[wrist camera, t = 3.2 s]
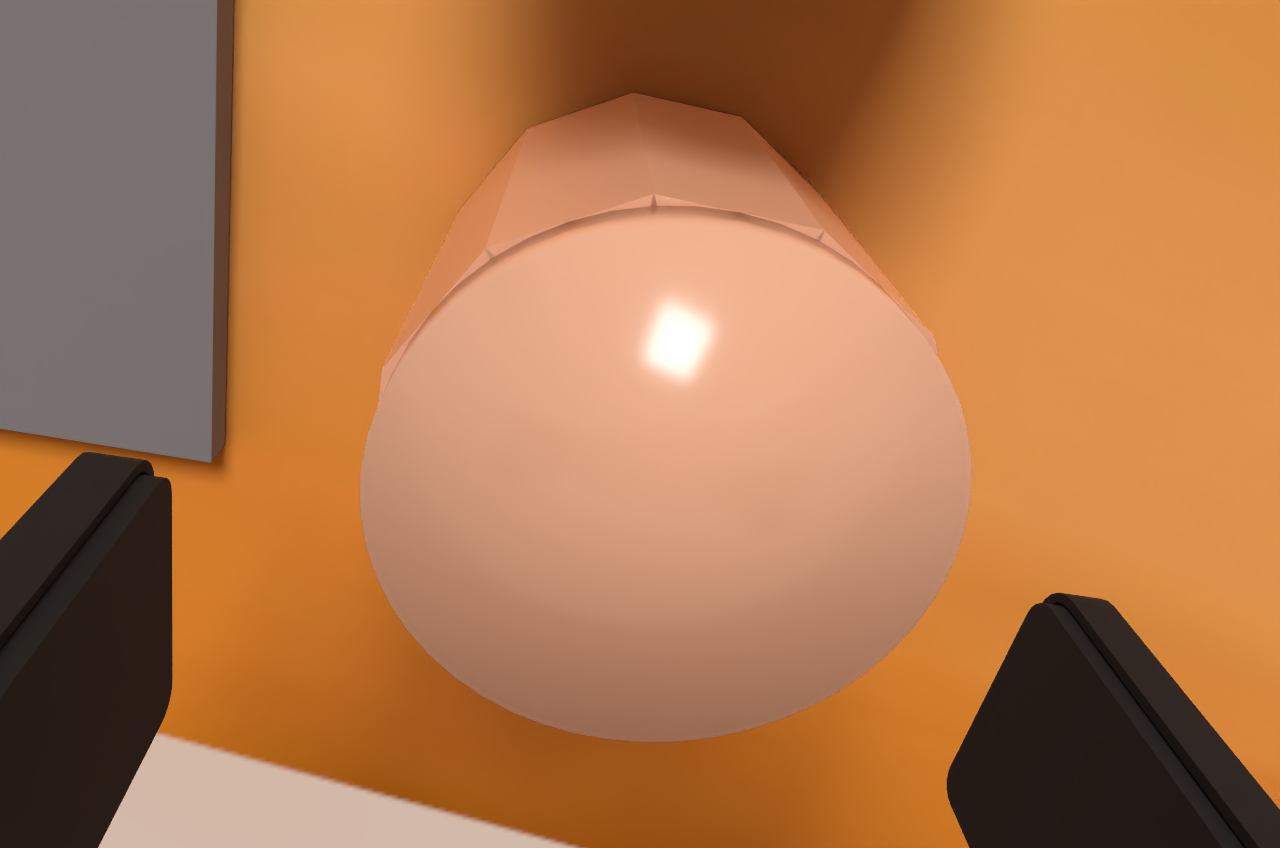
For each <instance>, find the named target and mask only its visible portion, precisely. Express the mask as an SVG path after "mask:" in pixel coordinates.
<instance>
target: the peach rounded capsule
mask: <svg viewBox="0 0 1280 848" xmlns="http://www.w3.org/2000/svg"><path fill="white" fill-rule="evenodd" d="M971 478H972V467H971V456H970V445H969V436H968V432H967V428H966V424H965V420H964V417H963V413H962V409H961V405H960V402H959V400H958V397H957V395H956V393H955V390H954V388H953V386H952V383H951V381H950V379H949V377H948V374H947V372H946V370H945V368H944V367H943V365H942V364H941V362H940V361H939V358H938V353H937V347H936V342H935V337H934V336H933V335H932V334H931V332H930V331H929V330H928V329H927V327H926V326H925V325H924V324H923V323H922V321H921V320H920V319H919V318H918V316H917V315H916V314H915V313H914V311H913V310H912V309H911V308H910V306H909V305H908V304H907V303H906V301H905V300H904V299H903V298H902V296H901V295H900V294H899V293H898V292H897V290H896V289H895V288H894V287H893V285H892V284H891V283H890V282H889V280H888V279H887V278H886V277H885V275H884V274H883V273H882V272H881V270H880V269H879V268H878V267H877V265H876V264H875V263H874V262H873V260H872V259H871V258H870V257H869V256H868V254H867V253H866V252H865V251H864V249H863V248H862V247H861V246H860V244H859V243H858V242H857V241H856V239H855V238H854V237H853V236H852V234H851V233H850V232H849V231H848V229H847V228H846V227H845V226H844V225H843V223H842V222H841V221H840V220H839V218H838V217H837V216H836V215H835V213H834V212H833V211H832V210H831V208H830V207H829V206H828V205H827V203H826V202H825V201H824V200H823V198H822V197H821V196H820V195H819V194H818V192H817V191H816V190H815V189H814V188H813V187H812V186H811V185H810V184H809V183H808V182H807V181H806V180H805V179H804V178H803V177H802V176H801V175H800V174H799V173H798V172H797V171H796V170H795V169H794V168H793V167H792V166H791V165H790V164H789V163H788V162H787V161H786V160H785V159H784V158H783V157H782V156H781V155H780V154H779V153H778V152H777V151H776V150H775V149H774V148H773V147H772V146H771V145H770V144H769V143H768V142H766V141H765V140H764V139H763V138H762V137H761V136H760V135H759V134H758V133H757V132H756V131H755V130H754V129H753V128H752V127H751V126H750V125H749V124H748V123H747V122H746V121H745V120H744V119H743V118H742V117H740V116H735V115H731V114H726V113H722V112H717V111H713V110H709V109H704V108H700V107H695V106H691V105H686V104H682V103H678V102H673V101H669V100H664V99H660V98H655V97H651V96H647V95H642V94H638V93H631V94H628V95H625V96H622V97H619V98H616V99H613V100H610V101H607V102H604V103H601V104H598V105H595V106H592V107H589V108H586V109H583V110H580V111H577V112H574V113H571V114H568V115H565V116H562V117H559V118H557V119H554V120H551V121H548V122H545V123H542V124H539V125H536V126H533V127H530V128H527V129H526V131H525V132H524V133H523V134H522V135H521V137H520V138H519V139H518V140H517V141H516V143H515V144H514V145H513V146H512V147H511V149H510V150H509V151H508V152H507V153H506V155H505V156H504V157H503V158H502V159H501V161H500V162H499V163H498V164H497V166H496V167H495V168H494V169H493V170H492V172H491V173H490V174H489V175H488V176H487V178H486V179H485V180H484V181H483V182H482V184H481V185H480V186H479V187H478V188H477V190H476V191H475V192H474V193H473V194H472V196H471V197H470V198H469V199H468V200H467V202H466V203H465V204H464V205H463V206H462V208H461V209H460V210H459V212H458V214H457V216H456V218H455V220H454V222H453V224H452V226H451V228H450V230H449V232H448V234H447V236H446V238H445V240H444V242H443V245H442V247H441V249H440V251H439V253H438V255H437V257H436V259H435V261H434V263H433V265H432V267H431V269H430V271H429V273H428V275H427V277H426V279H425V281H424V284H423V286H422V288H421V290H420V292H419V294H418V296H417V298H416V300H415V302H414V304H413V306H412V308H411V310H410V312H409V314H408V316H407V318H406V320H405V322H404V325H403V327H402V329H401V331H400V333H399V335H398V337H397V339H396V341H395V343H394V345H393V347H392V349H391V351H390V353H389V355H388V357H387V359H386V361H385V364H384V366H383V368H382V374H381V384H380V393H379V403H378V407H377V410H376V412H375V415H374V418H373V421H372V424H371V427H370V430H369V433H368V435H367V439H366V445H365V451H364V456H363V462H362V467H361V479H360V510H361V518H362V525H363V532H364V539H365V543H366V546H367V550H368V553H369V556H370V560H371V563H372V566H373V570H374V573H375V575H376V577H377V579H378V581H379V583H380V585H381V587H382V590H383V592H384V594H385V596H386V598H387V600H388V602H389V604H390V605H391V607H392V608H393V610H394V611H395V613H396V614H397V616H398V617H399V619H400V620H401V622H402V623H403V625H404V626H405V628H406V629H407V631H408V632H409V633H410V634H411V635H412V636H413V638H414V639H415V640H416V641H417V642H418V643H419V644H420V646H421V647H422V648H423V649H424V650H425V651H426V652H427V654H428V655H429V656H431V657H432V658H433V659H434V660H435V661H436V662H437V663H438V664H440V665H441V666H442V667H443V668H444V669H445V670H446V671H447V672H449V673H450V674H451V675H452V676H453V677H455V678H456V679H457V680H459V681H460V682H462V683H463V684H465V685H466V686H468V687H469V688H470V689H472V690H473V691H475V692H476V693H478V694H479V695H481V696H483V697H484V698H486V699H488V700H490V701H492V702H494V703H496V704H497V705H499V706H501V707H503V708H505V709H507V710H509V711H511V712H513V713H516V714H518V715H521V716H523V717H526V718H528V719H531V720H533V721H536V722H538V723H540V724H544V725H547V726H551V727H554V728H558V729H561V730H564V731H568V732H571V733H575V734H581V735H587V736H592V737H598V738H603V739H610V740H622V741H634V742H678V741H687V740H696V739H706V738H713V737H718V736H722V735H727V734H732V733H737V732H742V731H746V730H749V729H752V728H756V727H759V726H762V725H765V724H769V723H772V722H775V721H778V720H780V719H783V718H785V717H788V716H790V715H792V714H795V713H797V712H800V711H802V710H804V709H807V708H809V707H811V706H813V705H815V704H816V703H818V702H820V701H822V700H824V699H826V698H828V697H829V696H831V695H833V694H835V693H837V692H839V691H840V690H842V689H843V688H844V687H846V686H847V685H849V684H850V683H852V682H853V681H855V680H856V679H858V678H859V677H861V676H862V675H863V674H865V673H866V672H868V671H869V670H870V669H871V668H872V667H873V666H875V665H876V664H877V663H878V662H879V661H880V660H882V659H883V658H884V657H885V656H886V655H887V654H889V653H890V652H891V651H892V650H893V649H894V648H895V647H896V646H897V645H898V644H899V643H900V641H901V640H902V639H903V638H904V637H905V636H906V635H907V634H908V633H909V632H910V631H911V630H912V629H913V627H914V626H915V625H916V624H917V622H918V621H919V620H920V618H921V617H922V615H923V614H924V613H925V611H926V610H927V609H928V607H929V606H930V604H931V603H932V602H933V600H934V599H935V597H936V595H937V593H938V592H939V590H940V588H941V586H942V584H943V582H944V581H945V579H946V577H947V575H948V573H949V571H950V570H951V567H952V564H953V562H954V559H955V556H956V554H957V551H958V548H959V546H960V543H961V541H962V538H963V533H964V529H965V524H966V520H967V515H968V511H969V506H970V493H971Z"/></svg>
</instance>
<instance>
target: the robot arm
mask: <svg viewBox="0 0 1280 848" xmlns="http://www.w3.org/2000/svg"><path fill="white" fill-rule="evenodd" d="M171 690H172V490H171V484H170V481H169V480H168V479H167V478H163V477H156V476H154V471H153V468H152V465H151V463H150V462H148V461H147V460H141V459H134V458H127V457H120V456H113V455H106V454H100V453H93V452H84V453H82V454H81V455H80V456H78V457H77V458H76V459H75V460H74V461H73V462H72V463H71V464H70V466H69V467H68V468H67V469H66V470H65V471H64V472H63V473H62V474H61V475H60V476H59V477H58V478H57V480H56V481H55V482H54V483H53V484H52V485H51V486H50V487H49V488H48V489H47V490H46V491H45V492H44V493H43V495H42V496H41V497H40V498H39V499H38V500H37V501H36V502H35V503H34V504H33V505H32V506H31V507H30V509H29V510H28V511H27V512H26V513H25V514H24V515H23V516H22V517H21V518H20V519H19V520H18V521H17V522H16V524H15V525H14V526H13V527H12V528H11V529H10V530H9V531H8V532H7V533H6V534H5V535H4V536H3V537H2V539H1V540H0V848H98V847H99V844H100V843H101V841H102V839H103V837H104V835H105V833H106V831H107V829H108V827H109V825H110V823H111V821H112V819H113V817H114V815H115V813H116V811H117V809H118V807H119V805H120V803H121V802H122V799H123V798H124V796H125V794H126V792H127V790H128V788H129V786H130V784H131V782H132V780H133V778H134V776H135V774H136V772H137V770H138V768H139V766H140V764H141V762H142V760H143V758H144V757H145V755H146V752H147V751H148V749H149V747H150V745H151V743H152V741H153V739H154V737H155V735H156V733H157V731H158V729H159V727H160V725H161V723H162V721H163V719H164V717H165V714H166V711H167V708H168V705H169V701H170V696H171ZM947 793H948V798H949V801H950V804H951V807H952V809H953V811H954V813H955V816H956V818H957V820H958V823H959V825H960V827H961V829H962V832H963V834H964V836H965V838H966V841H967V843H968V845H969V847H970V848H1280V809H1279V808H1278V807H1277V806H1276V805H1275V803H1274V802H1273V801H1272V800H1271V798H1270V797H1269V796H1268V795H1267V794H1266V792H1265V791H1264V790H1263V789H1262V787H1261V786H1260V785H1259V784H1258V782H1257V781H1256V780H1255V779H1254V778H1253V776H1252V775H1251V774H1250V773H1249V771H1248V770H1247V769H1246V768H1245V767H1244V765H1243V764H1242V763H1241V762H1240V760H1239V759H1238V758H1237V757H1236V755H1235V754H1234V753H1233V752H1232V751H1231V749H1230V748H1229V747H1228V746H1227V744H1226V743H1225V742H1224V741H1223V739H1222V738H1221V737H1220V736H1219V735H1218V733H1217V732H1216V731H1215V730H1214V728H1213V727H1212V726H1211V725H1210V724H1209V722H1208V721H1207V720H1206V719H1205V717H1204V716H1203V715H1202V714H1201V712H1200V711H1199V710H1198V709H1197V708H1196V706H1195V705H1194V704H1193V703H1192V701H1191V700H1190V699H1189V698H1188V697H1187V695H1186V694H1185V693H1184V692H1183V690H1182V689H1181V688H1180V687H1179V685H1178V684H1177V683H1176V682H1175V681H1174V679H1173V678H1172V677H1171V676H1170V674H1169V673H1168V672H1167V671H1166V670H1165V668H1164V667H1163V666H1162V665H1161V663H1160V662H1159V661H1158V660H1157V658H1156V657H1155V656H1154V655H1153V654H1152V652H1151V651H1150V650H1149V649H1148V647H1147V646H1146V645H1145V644H1144V643H1143V641H1142V640H1141V639H1140V638H1139V636H1138V635H1137V634H1136V633H1135V631H1134V630H1133V629H1132V628H1131V627H1130V625H1129V624H1128V623H1127V622H1126V620H1125V619H1124V618H1123V617H1122V616H1121V614H1120V613H1119V612H1118V611H1117V609H1116V608H1115V607H1114V606H1113V605H1112V604H1111V603H1109V602H1108V601H1106V600H1103V599H1099V598H1092V597H1085V596H1078V595H1071V594H1064V593H1055V594H1051V595H1050V596H1049V597H1047V598H1046V599H1045V600H1044V601H1043V603H1039V604H1036V605H1034V606H1033V607H1032V608H1031V609H1030V610H1029V612H1028V613H1027V615H1026V617H1025V619H1024V621H1023V623H1022V625H1021V627H1020V629H1019V631H1018V633H1017V635H1016V637H1015V639H1014V641H1013V643H1012V645H1011V647H1010V649H1009V651H1008V653H1007V655H1006V657H1005V659H1004V661H1003V663H1002V665H1001V667H1000V669H999V671H998V673H997V675H996V677H995V679H994V681H993V683H992V685H991V687H990V689H989V691H988V693H987V695H986V697H985V699H984V701H983V703H982V705H981V707H980V709H979V711H978V713H977V715H976V717H975V719H974V721H973V723H972V725H971V727H970V729H969V731H968V733H967V735H966V737H965V739H964V741H963V743H962V745H961V747H960V749H959V751H958V753H957V755H956V757H955V759H954V760H953V762H952V764H951V766H950V769H949V772H948V777H947Z"/></svg>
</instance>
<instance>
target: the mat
mask: <svg viewBox="0 0 1280 848" xmlns="http://www.w3.org/2000/svg"><path fill="white" fill-rule="evenodd" d="M233 18H234V0H0V429H5V430H12V431H18V432H24V433H30V434H36V435H42V436H49V437H55V438H61V439H67V440H73V441H80V442H86V443H92V444H98V445H104V446H110V447H117V448H123V449H129V450H135V451H141V452H147V453H154V454H160V455H166V456H172V457H178V458H184V459H191V460H197V461H203V462H209V463H212V461H213V460H214V458H215V457H216V456H217V454H218V453H219V452H220V450H221V449H222V447H223V446H224V445H225V420H226V370H227V319H228V269H229V219H230V169H231V119H232V69H233Z"/></svg>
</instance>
